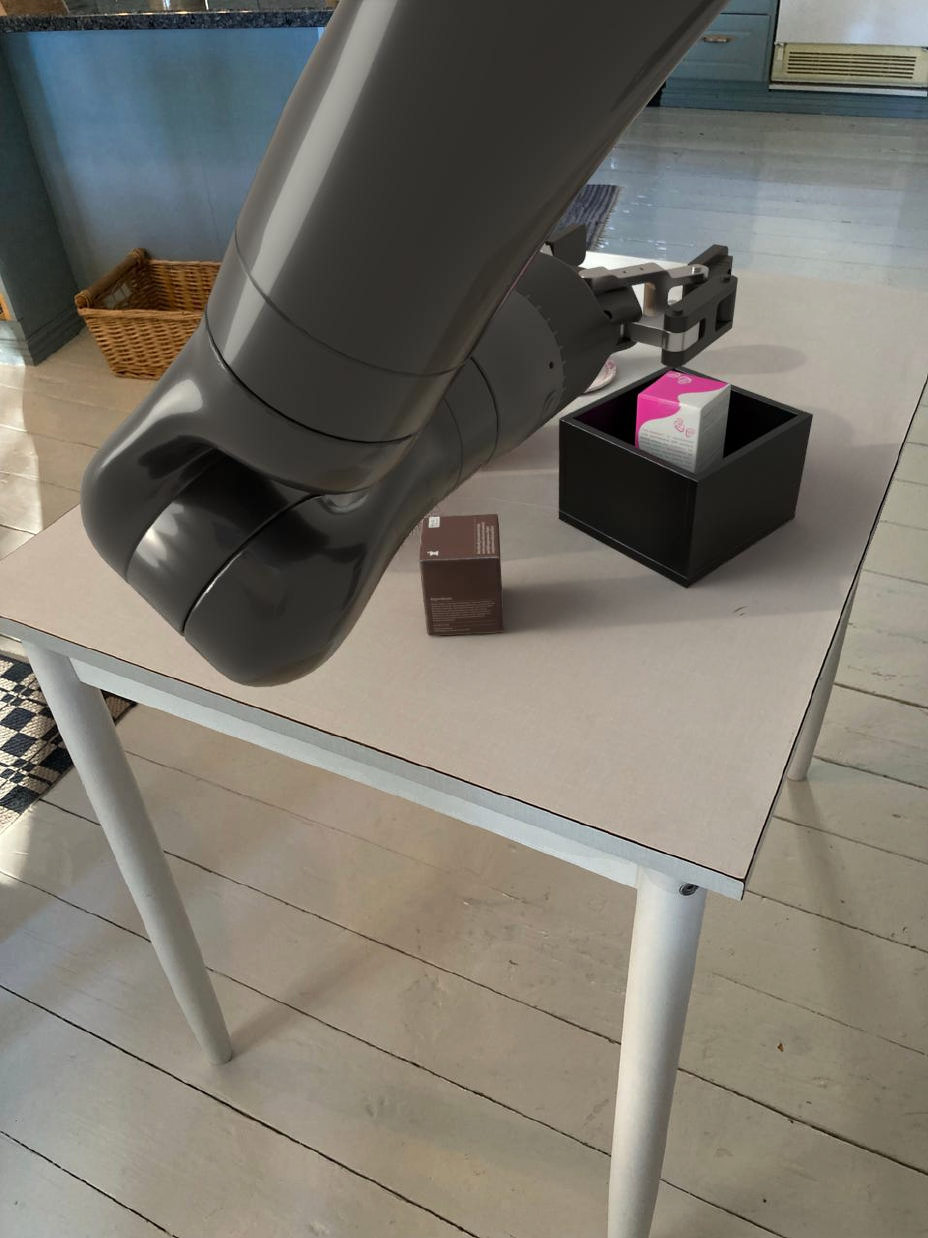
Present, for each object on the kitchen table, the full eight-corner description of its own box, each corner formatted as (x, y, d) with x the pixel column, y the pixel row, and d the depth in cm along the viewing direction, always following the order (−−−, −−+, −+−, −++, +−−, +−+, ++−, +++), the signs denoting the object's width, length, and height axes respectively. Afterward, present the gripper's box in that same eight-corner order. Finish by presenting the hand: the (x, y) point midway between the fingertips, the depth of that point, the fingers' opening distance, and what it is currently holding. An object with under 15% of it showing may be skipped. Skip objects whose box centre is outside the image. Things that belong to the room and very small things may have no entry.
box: (503, 635, 77) (500, 557, 72) (426, 638, 77) (417, 561, 72) (502, 587, 82) (499, 512, 77) (429, 590, 82) (421, 515, 77)
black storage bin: (794, 517, 87) (813, 414, 81) (686, 588, 80) (697, 481, 74) (665, 459, 96) (673, 362, 90) (558, 519, 89) (558, 418, 83)
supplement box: (719, 502, 88) (734, 382, 81) (688, 534, 84) (701, 411, 77) (660, 484, 91) (670, 367, 84) (628, 514, 87) (635, 394, 80)
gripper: (634, 309, 39) (782, 196, 50) (356, 256, 46) (537, 166, 56) (625, 474, 44) (763, 339, 54) (374, 404, 51) (538, 296, 61)
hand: (648, 251), depth 55 cm, fingers open, 8 cm apart
